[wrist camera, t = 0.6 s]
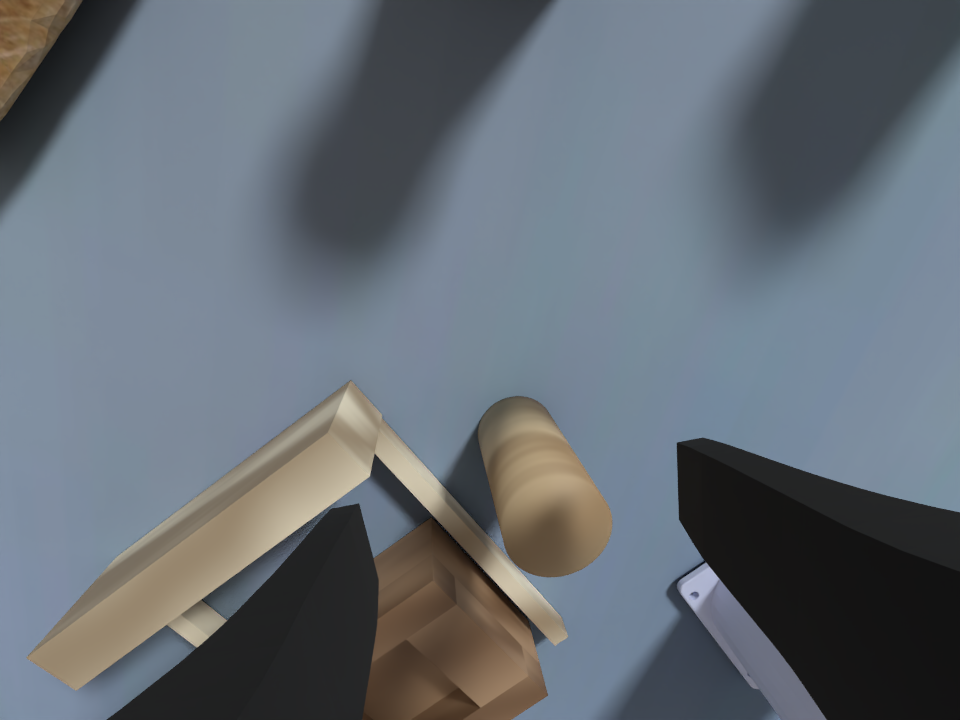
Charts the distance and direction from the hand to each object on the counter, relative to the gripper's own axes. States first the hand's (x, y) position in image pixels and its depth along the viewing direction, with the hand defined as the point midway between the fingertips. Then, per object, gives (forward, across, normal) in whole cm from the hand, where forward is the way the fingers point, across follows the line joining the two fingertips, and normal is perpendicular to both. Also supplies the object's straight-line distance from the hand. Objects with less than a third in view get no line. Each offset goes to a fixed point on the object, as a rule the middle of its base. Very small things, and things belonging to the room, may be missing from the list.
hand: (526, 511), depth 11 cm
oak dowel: (+10, -1, +3) cm, 11 cm away
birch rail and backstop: (+10, +7, +10) cm, 16 cm away
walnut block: (+10, +6, +12) cm, 17 cm away
